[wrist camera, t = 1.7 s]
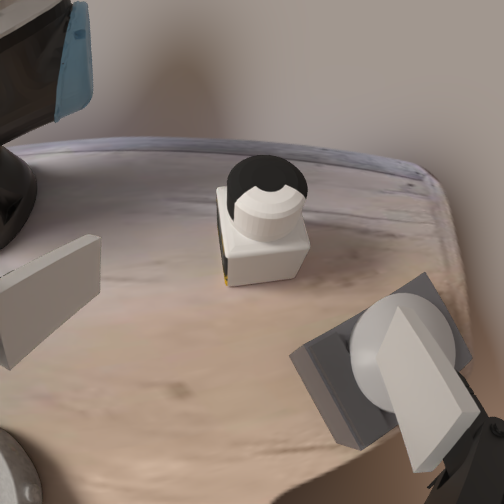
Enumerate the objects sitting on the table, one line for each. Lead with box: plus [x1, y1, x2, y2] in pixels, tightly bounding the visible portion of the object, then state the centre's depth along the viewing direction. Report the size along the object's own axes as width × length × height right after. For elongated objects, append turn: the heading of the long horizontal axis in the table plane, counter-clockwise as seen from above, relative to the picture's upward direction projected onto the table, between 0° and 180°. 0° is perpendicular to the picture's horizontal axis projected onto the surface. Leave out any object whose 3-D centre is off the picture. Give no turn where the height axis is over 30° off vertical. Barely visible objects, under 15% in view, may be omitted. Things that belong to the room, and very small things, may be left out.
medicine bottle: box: [216, 155, 310, 287], centre depth 28 cm, size 7×7×12 cm
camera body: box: [289, 272, 472, 451], centre depth 26 cm, size 10×14×8 cm
